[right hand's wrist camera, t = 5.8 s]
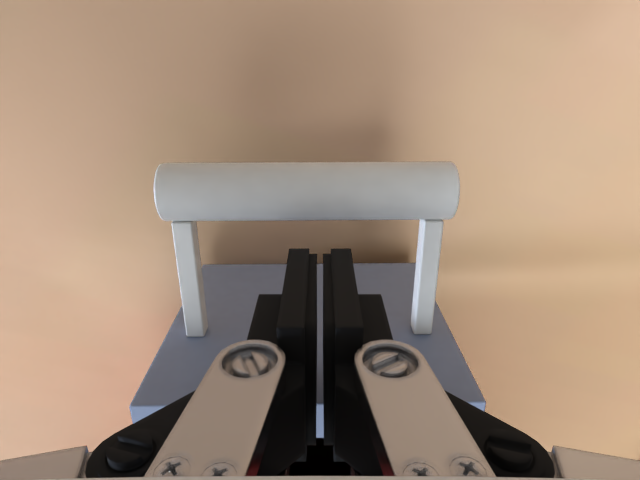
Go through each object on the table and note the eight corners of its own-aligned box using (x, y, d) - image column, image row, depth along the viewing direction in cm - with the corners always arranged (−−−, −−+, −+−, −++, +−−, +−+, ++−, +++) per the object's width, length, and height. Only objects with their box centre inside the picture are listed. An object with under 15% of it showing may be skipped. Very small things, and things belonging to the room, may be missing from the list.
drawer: (188, 133, 18) (85, 198, 10) (428, 132, 18) (523, 196, 10) (236, 563, 27) (204, 773, 19) (390, 561, 28) (422, 768, 20)
